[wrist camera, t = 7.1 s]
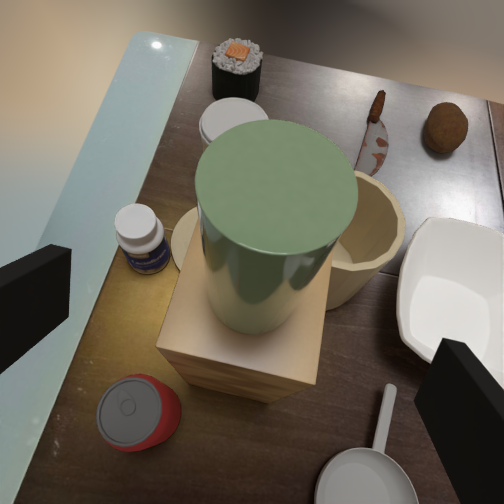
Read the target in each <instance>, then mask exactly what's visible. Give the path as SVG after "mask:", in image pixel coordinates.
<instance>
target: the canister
mask: <svg viewBox="0 0 504 504" xmlns="http://www.w3.org/2000/svg"><path fill="white" fill-rule="evenodd" d="M195 192H196V201H197V210H198V218H199V227H200V236H201V245H202V253H203V262H204V271H205V280H206V288H207V297H208V301H209V304H210V307H211V309H212V311H213V313H214V314H215V316H216V317H217V318H218V319H219V320H220V321H221V322H222V323H223V324H224V325H225V326H227V327H228V328H230V329H232V330H234V331H236V332H239V333H243V334H250V335H257V334H263V333H267V332H270V331H273V330H275V329H276V328H278V327H280V326H281V325H282V324H283V323H284V322H285V321H286V320H287V319H288V318H289V317H290V315H291V314H292V312H293V311H294V309H295V308H296V306H297V305H298V303H299V301H300V300H301V298H302V297H303V295H304V294H305V292H306V291H307V289H308V288H309V286H310V284H311V283H312V281H313V280H314V278H315V277H316V275H317V274H318V272H319V270H320V269H321V267H322V266H323V264H324V263H325V261H326V260H327V258H328V256H329V255H330V253H331V252H332V250H333V249H334V247H335V246H336V244H337V243H338V241H339V239H340V238H341V236H342V235H343V233H344V232H345V230H346V229H347V227H348V225H349V224H350V222H351V220H352V218H353V216H354V214H355V211H356V208H357V203H358V185H357V179H356V176H355V173H354V170H353V168H352V166H351V164H350V162H349V161H348V159H347V157H346V156H345V155H344V153H343V152H342V151H341V150H340V149H339V148H338V147H337V146H336V145H335V144H334V143H333V142H332V141H330V140H329V139H328V138H327V137H325V136H324V135H322V134H320V133H319V132H317V131H315V130H313V129H311V128H309V127H306V126H303V125H301V124H297V123H293V122H289V121H283V120H257V121H251V122H247V123H243V124H240V125H237V126H235V127H233V128H231V129H229V130H227V131H225V132H224V133H222V134H221V135H219V136H218V137H217V138H216V139H214V140H213V141H212V142H211V143H210V145H209V146H208V147H207V148H206V150H205V151H204V153H203V154H202V156H201V158H200V160H199V163H198V166H197V169H196V174H195Z"/></svg>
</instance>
